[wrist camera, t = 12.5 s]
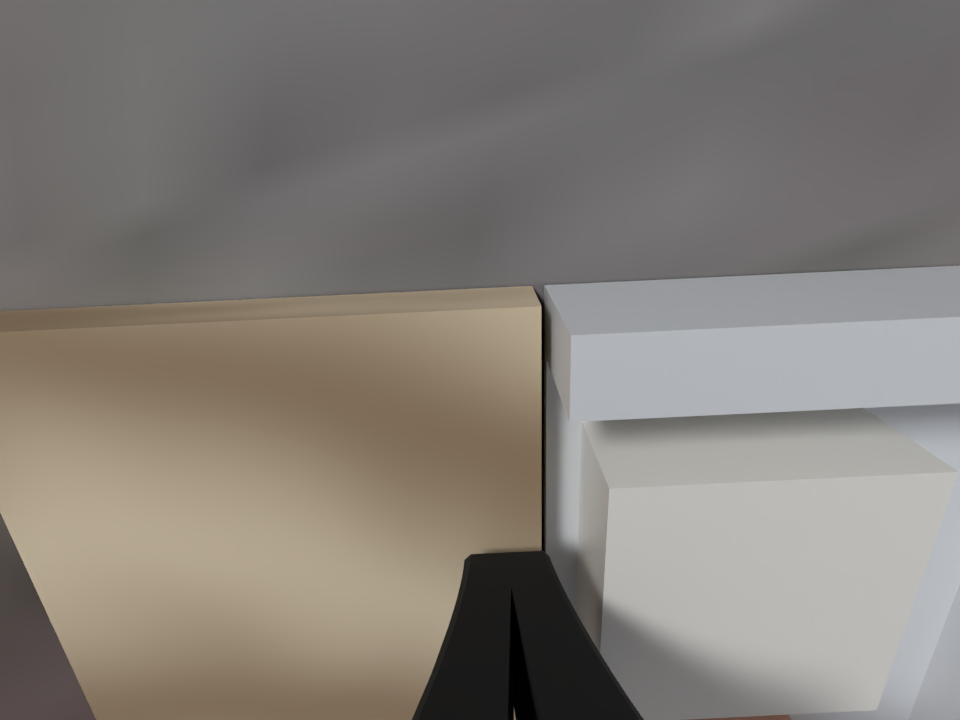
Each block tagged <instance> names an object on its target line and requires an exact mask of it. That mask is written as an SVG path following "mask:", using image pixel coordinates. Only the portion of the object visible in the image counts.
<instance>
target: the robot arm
mask: <svg viewBox="0 0 960 720" xmlns="http://www.w3.org/2000/svg"><path fill="white" fill-rule="evenodd" d="M514 711H515V717H516V720H644V719H643V718H642V716H641V715H640V713H639V712H638V710H637V709H636V708H635V706H634V705H633V703H632V702H631V700H630V699H629V697H628V696H627V694H626V693H625V691H624V690H623V688H622V687H621V685H620V684H619V682H618V681H617V679H616V678H615V676H614V675H613V673H612V672H611V670H610V668H609V667H608V665H607V663H606V662H605V660H604V659H603V657H602V655H601V654H600V652H599V650H598V649H597V647H596V646H595V644H594V642H593V641H592V639H591V637H590V636H589V634H588V632H587V631H586V629H585V627H584V625H583V624H582V622H581V620H580V618H579V617H578V615H577V613H576V611H575V609H574V607H573V605H572V604H571V602H570V600H569V598H568V596H567V594H566V592H565V590H564V588H563V586H562V584H561V582H560V580H559V578H558V576H557V573H556V571H555V569H554V567H553V564H552V562H551V559H550V556H549V555H547V554H546V553H545V552H544V551H528V552H506V553H485V554H470V555H469V556H468V557H467V558H466V559H465V560H464V568H463V574H462V579H461V584H460V588H459V592H458V596H457V600H456V603H455V607H454V610H453V613H452V617H451V620H450V623H449V626H448V629H447V632H446V635H445V637H444V640H443V643H442V646H441V648H440V651H439V654H438V657H437V660H436V662H435V665H434V668H433V670H432V673H431V675H430V678H429V680H428V683H427V685H426V687H425V690H424V692H423V694H422V697H421V699H420V701H419V704H418V706H417V708H416V711H415V713H414V715H413V718H412V720H514Z"/></svg>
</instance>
